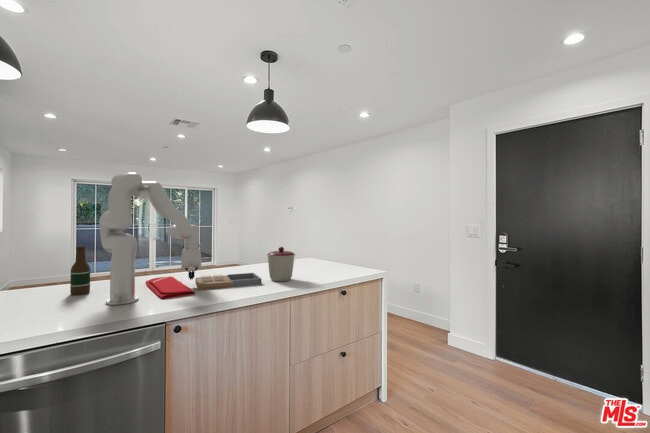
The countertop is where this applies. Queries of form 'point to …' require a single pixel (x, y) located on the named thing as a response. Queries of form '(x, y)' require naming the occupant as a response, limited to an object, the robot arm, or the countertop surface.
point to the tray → (244, 279)
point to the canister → (280, 265)
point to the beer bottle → (80, 274)
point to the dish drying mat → (168, 287)
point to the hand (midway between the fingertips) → (191, 278)
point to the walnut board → (213, 283)
